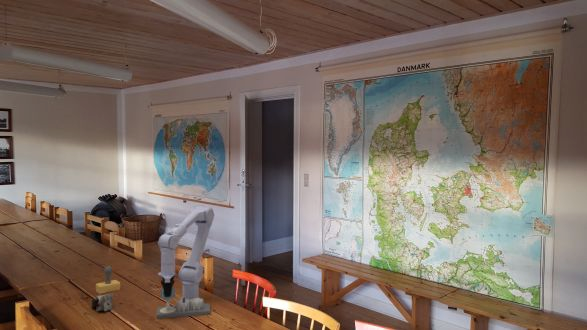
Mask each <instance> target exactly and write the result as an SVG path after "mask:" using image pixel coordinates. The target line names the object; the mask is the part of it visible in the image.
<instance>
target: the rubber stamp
mask: <svg viewBox="0 0 587 330" xmlns="http://www.w3.org/2000/svg"><path fill="white" fill-rule="evenodd" d="M112 270H113V269H112V267H111V266H105V268H104V270H103V273H104V275H105V278H106V281H102V282H99V283H96V284H95V292H96V293H98V294H99V295H100V294H108V293H112V292H115V291H119V290H121V282H120V281H118V280H117V279H114V280H110V278H111V275H112V272H113V271H112Z"/></svg>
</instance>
